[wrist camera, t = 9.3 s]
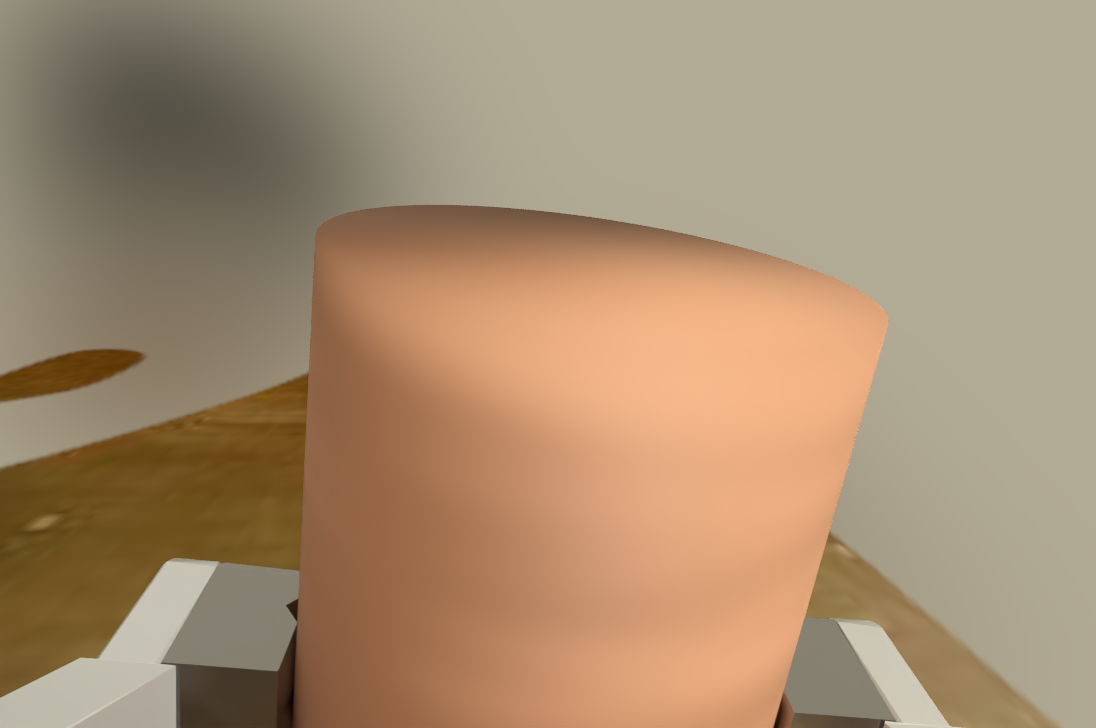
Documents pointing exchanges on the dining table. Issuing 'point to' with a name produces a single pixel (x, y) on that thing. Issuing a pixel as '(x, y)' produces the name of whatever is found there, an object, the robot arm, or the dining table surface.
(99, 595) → the dining table surface
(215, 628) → the robot arm
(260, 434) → the dining table surface
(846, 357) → the peg
